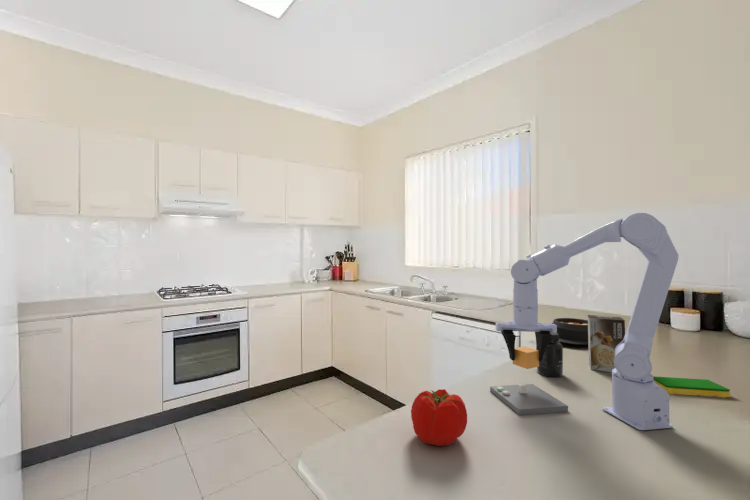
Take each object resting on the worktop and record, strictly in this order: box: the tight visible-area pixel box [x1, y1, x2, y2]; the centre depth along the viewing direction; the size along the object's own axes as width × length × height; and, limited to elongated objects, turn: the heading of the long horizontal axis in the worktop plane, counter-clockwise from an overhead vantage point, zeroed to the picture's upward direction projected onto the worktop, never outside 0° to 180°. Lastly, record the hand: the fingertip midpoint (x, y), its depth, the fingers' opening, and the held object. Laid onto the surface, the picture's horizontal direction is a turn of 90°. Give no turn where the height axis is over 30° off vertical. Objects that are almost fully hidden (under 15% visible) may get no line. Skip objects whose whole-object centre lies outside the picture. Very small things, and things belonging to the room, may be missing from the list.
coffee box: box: [587, 314, 626, 373], centre depth 104 cm, size 9×6×16 cm
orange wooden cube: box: [512, 346, 539, 370], centre depth 86 cm, size 4×4×4 cm
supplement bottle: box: [536, 332, 564, 378], centre depth 100 cm, size 7×7×12 cm
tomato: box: [410, 389, 468, 447], centre depth 64 cm, size 11×11×9 cm
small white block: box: [517, 383, 527, 394], centre depth 83 cm, size 1×2×2 cm
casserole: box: [551, 317, 588, 346], centre depth 136 cm, size 25×19×8 cm
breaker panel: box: [489, 383, 569, 416], centre depth 81 cm, size 13×12×2 cm
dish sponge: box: [653, 376, 731, 398], centre depth 88 cm, size 7×14×2 cm, turn 79°
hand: (525, 359), depth 86 cm, fingers closed on orange wooden cube, 6 cm apart
